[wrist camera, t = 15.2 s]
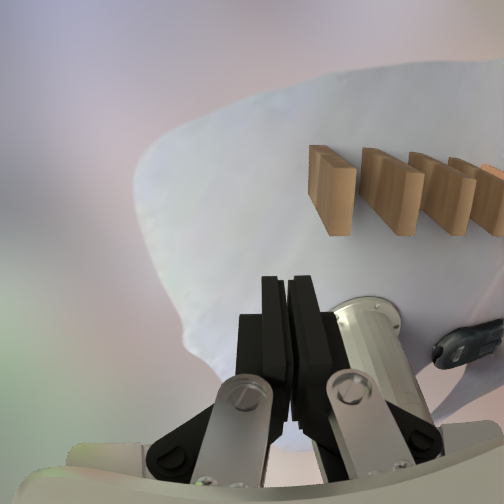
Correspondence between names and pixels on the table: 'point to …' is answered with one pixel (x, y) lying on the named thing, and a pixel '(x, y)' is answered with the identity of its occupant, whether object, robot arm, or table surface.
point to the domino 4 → (484, 197)
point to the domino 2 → (391, 190)
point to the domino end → (493, 171)
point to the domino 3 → (445, 193)
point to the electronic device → (469, 344)
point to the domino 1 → (332, 189)
